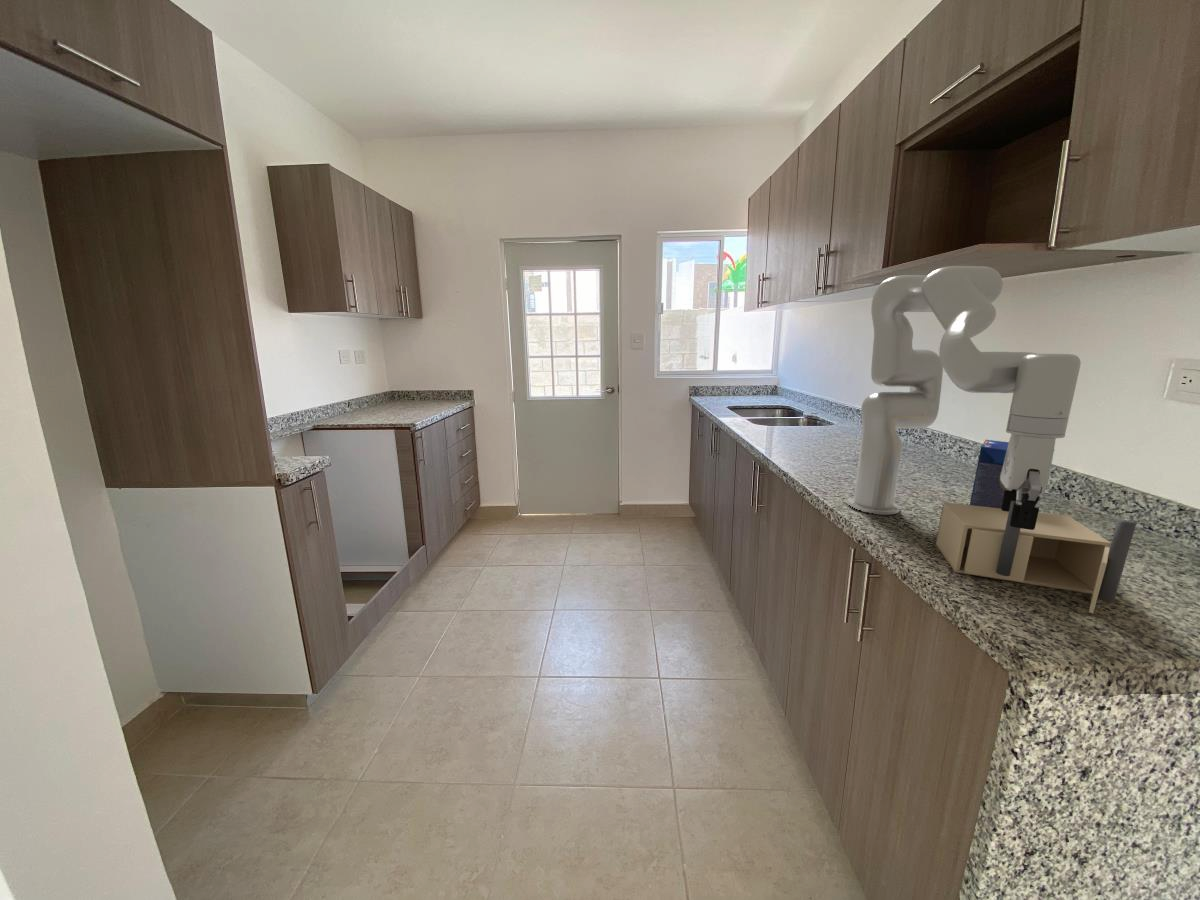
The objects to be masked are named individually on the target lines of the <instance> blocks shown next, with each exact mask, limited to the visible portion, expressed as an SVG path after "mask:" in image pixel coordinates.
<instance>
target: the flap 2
mask: <svg viewBox="0 0 1200 900" xmlns="http://www.w3.org/2000/svg"><path fill="white" fill-rule="evenodd" d="M1136 526H1137V523H1136V522H1134V521H1132V520H1129V519H1117V521H1116V525H1115V529H1114V532H1113V535H1112V538H1111V539H1112V540H1111V542H1110V543H1111V544H1110V547H1105V550H1104V553H1103V557H1102V561H1101V564H1100V568H1099V572H1098V575H1097V579H1096V583H1095V586H1094V590H1093V594H1092V595H1091V600H1090V605H1089V610H1088V612H1089V613H1091V614H1094V613H1095V612H1094V611H1095V609H1096V604H1097V600H1098V601H1101V602H1103V603H1106V604H1114V603H1115V599H1116V596H1117V591H1118V589H1119V585H1120V583H1121V578H1122V576H1123V571H1124V568H1125V565H1126V561H1127V557H1128V554H1129V551H1130V546H1131V545H1132V540H1133V538H1134V537H1133V536H1134V533H1135V529H1136Z"/></svg>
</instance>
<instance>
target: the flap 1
mask: <svg viewBox="0 0 1200 900" xmlns="http://www.w3.org/2000/svg"><path fill="white" fill-rule="evenodd" d="M1014 504H1016V501H1011V505H1010V509H1009V514H1008V519H1007V523H1006V528H1005V532H1004V533H1001V532H993V531H985V530H977V529H972V533H971V538H970V543H969V548H968V553H967V558H966V563H965V568H964V573H967V574H966V575H969V574H974V575H973V576H976V575H980V576H979V577H982V576H987V577H986V578H989V577H993V578H992V579H995V578H999V579H998V580H1001V579H1006V580H1005V581H1008V580H1012V581H1011V582H1014V581H1019V582H1018V583H1021V582H1023V581H1024V577H1025V573H1026V568H1027V564H1028V560H1029V556H1030V551H1031V547H1032V543H1033V538H1034V537H1033V536H1025V535H1019V533H1020V529H1021V528H1016V527H1012V526H1010V519H1011V515H1012V510H1013V505H1014Z"/></svg>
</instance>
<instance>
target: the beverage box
mask: <svg viewBox="0 0 1200 900" xmlns="http://www.w3.org/2000/svg"><path fill="white" fill-rule="evenodd" d="M1008 443H1009V441H1008V442H1007V441H1001V440H992V439H991V440H990V439H985V440H984V441H983V443H982V445H981V446H980V451H979V456H978V460H977V465H976V470H975V476H974V480H973V481H974V482H973V486H972V491H971V497H970V502H969V505H973V506H982V507H991V508H1001V506H1002V501H1003V495H1004V490H1006V488H1005V486H1004V485H1003V483H1002V482H1001V480H1000V475H1001V471H1002V467H1003V463H1004V459H1005V455H1006V451H1007V447H1008Z"/></svg>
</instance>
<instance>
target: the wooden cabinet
mask: <svg viewBox="0 0 1200 900" xmlns="http://www.w3.org/2000/svg"><path fill="white" fill-rule="evenodd" d="M1008 514H1009V512H1007V511H1003V510H1002V509H1001V508H991V507H982V506H973V505H970V504H963V503H953V502H945V501H943V502H942V508H941V514H940V519H939V525H938V529H937V536H936V539H935V540H936V542H935V546H936V547H937V548H938V550H939V551H940V552H941V554H942V556H943V557H944V558H945V560H946V562H947V563H948V564H949V565H950V567H951V568H952V570H953V571H954V573H958V574H964V575H969V576H970V575H971V576H976V577H977V576H978V577H982V578H983V577H984V578H990V579H997V580H1000V581H1008V582H1009V581H1010V582H1016V583H1021V584H1028V585H1032V586H1033V585H1034V586H1040V587H1048V588H1054V589H1058V590H1059V589H1060V590H1067V591H1072V592H1073V591H1074V592H1079V593H1086V594H1093V590H1094V586H1095V583H1096V579H1097V575H1098V572H1099V568H1100V564H1101V561H1102V557H1103V553H1104V550H1105V547H1109V548H1110V546H1111V542H1110V541H1108V540H1107V539H1105V538H1104V537H1103V536H1101V535H1099V534H1098V533H1096V532H1094V531H1092V530H1091V529H1090V528H1088V527H1086V526H1085V525H1083V524H1081V523H1080V522H1078V521H1077V520H1075V519H1073V518H1072V517H1071V516H1069V515H1063V514H1053V513H1045V512H1038V516H1037V521H1036V526H1035V529H1034V530H1029V529H1023V528H1021V529H1020V533H1019V535H1025V536H1033V537H1034V538H1033V543H1032V547H1031V551H1030V556H1029V560H1028V564H1027V568H1026V573H1025V577H1024V581H1023V582H1019V581H1012V580H1006V579H999V578H993V577H987V576H980V575H974V574H967V573H964V568H965V563H966V558H967V553H968V548H969V543H970V538H971V533H972V529H977V530H985V531H993V532H1001V533H1004V532H1005V528H1006V523H1007V519H1008Z"/></svg>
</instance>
